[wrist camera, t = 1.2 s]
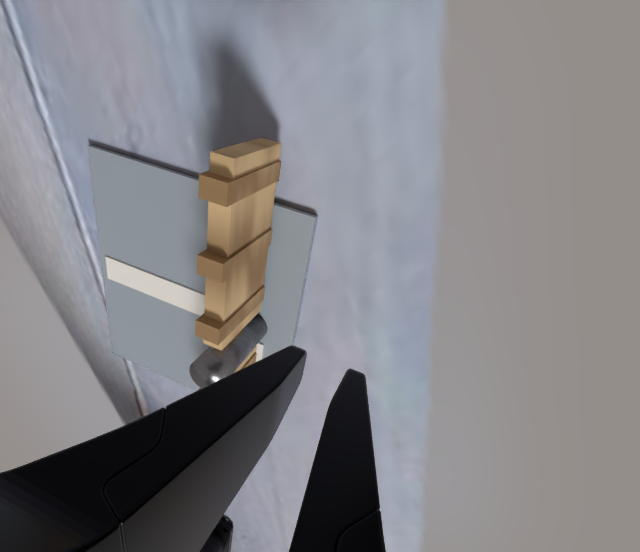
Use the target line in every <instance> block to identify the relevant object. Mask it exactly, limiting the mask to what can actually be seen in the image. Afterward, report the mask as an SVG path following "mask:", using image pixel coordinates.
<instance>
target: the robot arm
mask: <svg viewBox="0 0 640 552" xmlns="http://www.w3.org/2000/svg"><path fill="white" fill-rule="evenodd" d="M306 356H307V353H306V351H305V350H303V349H301V348H298V347H296V346H293V345H291V346H288V347H286V348H284V349H282V350H280V351H278V352H276V353H273V354H271V355H269V356H267V357H265V358H263V359H261V360H259V361H257V362H255V363H253V364H251V365H249V366H247V367H245V368H243V369H241V370H239V371H237V372H235V373H233V374H231V375H229V376H226V377H224V378H222V379H220V380H218V381H216V382H214V383H212V384H210V385H208V386H206V387H204V388H202V389H200V390H198V391H196V392H194V393H192V394H190V395H188V396H186V397H184V398H182V399H180V400H177V401H175V402H173V403H171V404H169V405H167V406H166V410H165V408H161V409H159V410H157V411H155V412H153V413H151V414H149V415H146V416H144V417H142V418H140V419H138V420H136V421H133V422H131V423H129V424H127V425H125V426H123V427H120V428H118V429H115V430H113V431H111V432H108V433H106V434H103V435H101V436H98V437H96V438H93V439H91V440H88V441H86V442H83V443H80V444H78V445H75V446H72V447H70V448H67V449H65V450H62V451H60V452H57V453H54V454H52V455H49V456H47V457H44V458H41V459H39V460H36V461H33V462H31V463H28V464H26V465H23V466H20V467H18V468H15V469H12V470H9V471H5V472H2V473H0V552H230V549H231V541H232V533H233V526H232V525H231V524H230V523H228V522H226V521H224V520H223V519H221V517H222V516H223V514H224V513H225V511H226V510H227V508H228V507H229V505H230V503H231V502H232V500H233V499H234V497H235V496H236V494H237V493H238V491H239V490H240V488H241V487H242V485H243V484H244V482H245V480H246V479H247V477H248V476H249V474H250V473H251V471H252V470H253V468H254V467H255V465H256V464H257V462H258V461H259V459H260V458H261V456H262V454H263V453H264V451H265V450H266V448H267V447H268V445H269V443H270V442H271V440H272V438H273V436H274V434H275V433H276V431H277V429H278V427H279V425H280V423H281V421H282V419H283V417H284V415H285V413H286V411H287V409H288V406H289V404H290V402H291V400H292V398H293V396H294V394H295V392H296V390H297V388H298V386H299V384H300V382H301V379H302V375H303V370H304V366H305V361H306ZM379 509H380V503H379V494H378V485H377V476H376V467H375V458H374V449H373V440H372V431H371V422H370V413H369V404H368V395H367V386H366V378H365V375H364V374H363V373H361V372H358V371H356V370H353V369H348V370H347V371H346V373H345V375H344V377H343V379H342V381H341V383H340V385H339V387H338V389H337V391H336V392H335V394H334V396H333V398H332V400H331V403H330V405H329V408H328V411H327V415H326V418H325V422H324V426H323V429H322V433H321V437H320V440H319V444H318V447H317V451H316V455H315V458H314V462H313V466H312V469H311V473H310V477H309V480H308V484H307V488H306V491H305V495H304V498H303V502H302V506H301V509H300V513H299V517H298V520H297V524H296V528H295V531H294V535H293V539H292V542H291V546H290V550H289V552H386V550H385V543H384V536H383V529H382V520H381V512H380V511H379Z"/></svg>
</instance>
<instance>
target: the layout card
mask: <svg viewBox="0 0 640 552" xmlns="http://www.w3.org/2000/svg"><path fill="white" fill-rule="evenodd" d="M88 154H89V163H90V171H91V180H92V188H93V197H94V205H95V214H96V222H97V231H98V239H99V248H100V256H101V264H102V273H103V281H104V290H105V298H106V307H107V315H108V324H109V332H110V341H111V349H112V353H114V354H116V355H118V356H121V357H123V358H125V359H127V360H129V361H132V362H134V363H136V364H138V365H140V366H143V367H145V368H147V369H149V370H151V371H153V372H156V373H158V374H160V375H162V376H164V377H167V378H169V379H171V380H173V381H175V382H178V383H180V384H182V385H184V386H186V387H189V388H191V389H193V390H195V391H198V389H199V388H200V387H199V386H198V385H197V384H196V383H195V382H194V381H193V379H192V378H191V376H190V372H189V367H190V365H191V364H192V363H193V362H194V361H195V360H196V359H197V358H198V357H199V356H200V355H201V354H202V353H203V352H204V351H205V350H206V349H207V348H208V347H209V345H207V344H204V343H203V339H201V338H199V337H197V336H195V326H196V319H198V318H199V317H200V316H201V315H202V314H204V310H205V282H206V277H203V276H201V275H198V274H197V255H198V254H199V253H201V252H202V251H204V250H206V249H207V227H208V201H206V200H203V199H200V198H198V192H199V178H196V177H193V176H189V175H186V174H183V173H180V172H177V171H174V170H170V169H167V168H164V167H161V166H158V165H155V164H151V163H148V162H145V161H142V160H139V159H135V158H132V157H129V156H126V155H123V154H120V153H116V152H113V151H110V150H107V149H104V148H101V147H97V146H94V145H88ZM316 222H317V216H316V215H313V214H310V213H307V212H304V211H301V210H297V209H294V208H291V207H288V206H285V205H282V204H278V203H275V202H274V206H273V214H272V222H271V228H272V237H271V245H270V246H269V247H268V254H267V262H266V270H265V278H264V286H265V292H264V300H263V301H262V302H261V310H260V311H259V313H258V314H259V315H260V316H261V317H262V318H263V319H264V320H265V322H266V324H267V333H266V335H265V336H264V337H263V338H262V340H261V341H260V342H259V343H258V344H257V345H256V351H255V352H256V353H257V355H256V362H257V361H259V360H261V359H263V358H265V357H267V356H269V355H271V354H273V353H276V352H278V351H280V350H282V349H284V348H286V347H288V346H291V345H294V340H295V334H296V329H297V324H298V318H299V313H300V308H301V302H302V297H303V291H304V286H305V281H306V275H307V270H308V265H309V259H310V254H311V249H312V243H313V238H314V233H315V227H316Z"/></svg>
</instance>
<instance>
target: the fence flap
mask: <svg viewBox="0 0 640 552" xmlns="http://www.w3.org/2000/svg"><path fill="white" fill-rule="evenodd" d="M280 150H281V143H279V142H275V141H271V140H268V139H264V138H257V139H254V140H250V141H246V142H243V143H239V144H236V145H232V146H228V147H225V148H221V149H218V150H214V151H210V171H207V172H204V173H201V174H199V192H198V198H200V199H203V200H206V201H208V227H207V249H206V250H204V251H202V252H201V253H199V254H198V255H197V274H198V275H201V276H203V277H206V282H205V310H204V314H202V315H201V316H200V317H199V318H198V319H196V326H195V336H197V337H199V338H201V339H203V343H204V344H207V345H209V346H211V347H214V348H216V349H218V350H221V351H222V350H223V349H224V348H225V347H226V346H227V345H228V344H229V343H230V342H231V341H232V340H233V339H234V337H235V336H236V335H237V334H238V333H239V332H240V331H241V330H242V329H243V328H244V327H245V326H246V325H247V324H248V323H249V322H250V321H251V320H252V319H253V318H254V317H255V316H256V315H257V314H258V313H259V311H260V310H261V302H262V301H263V300H264V292H265V286H264V278H265V270H266V262H267V254H268V247H269V246H270V245H271V237H272V228H271V222H272V214H273V206H274V198H275V190H276V182H277V181H279V174H280V166H281V161H279V158H280Z"/></svg>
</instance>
